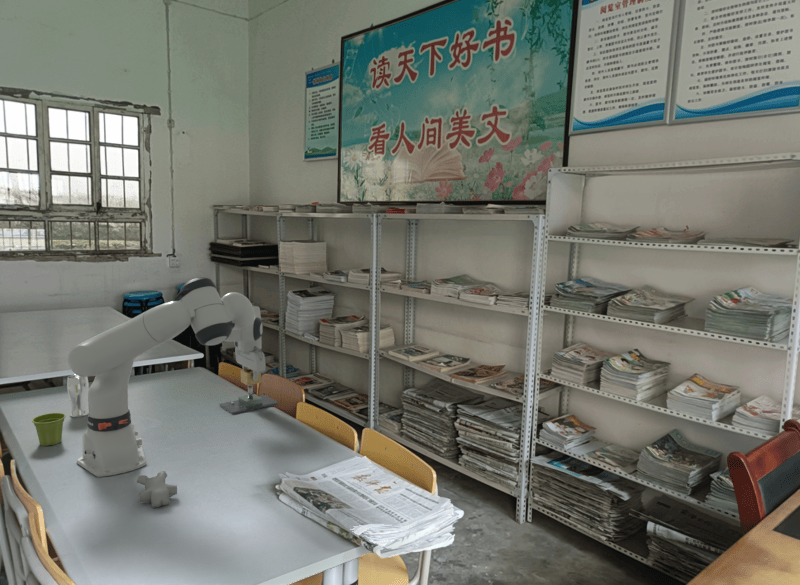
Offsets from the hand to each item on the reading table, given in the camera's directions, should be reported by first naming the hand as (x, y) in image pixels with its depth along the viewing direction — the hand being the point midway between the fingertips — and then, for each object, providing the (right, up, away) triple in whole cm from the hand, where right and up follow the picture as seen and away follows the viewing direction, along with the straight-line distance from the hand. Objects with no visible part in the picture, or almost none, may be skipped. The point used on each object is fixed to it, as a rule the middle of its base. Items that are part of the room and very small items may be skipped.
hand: (250, 378), depth 224 cm
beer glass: (-62, -12, -13) cm, 64 cm away
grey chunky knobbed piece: (-6, -22, -73) cm, 76 cm away
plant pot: (-56, -16, -39) cm, 70 cm away
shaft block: (-1, -12, +2) cm, 12 cm away
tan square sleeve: (0, -2, 0) cm, 2 cm away
